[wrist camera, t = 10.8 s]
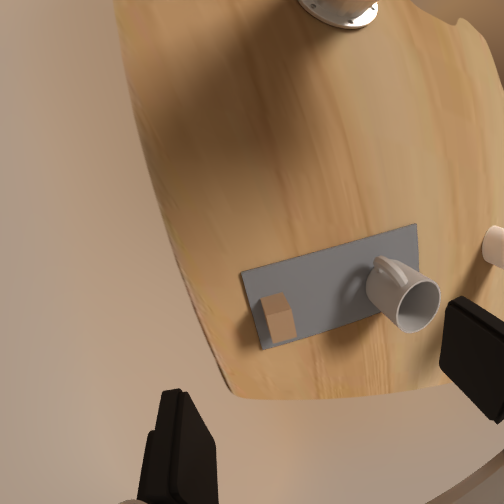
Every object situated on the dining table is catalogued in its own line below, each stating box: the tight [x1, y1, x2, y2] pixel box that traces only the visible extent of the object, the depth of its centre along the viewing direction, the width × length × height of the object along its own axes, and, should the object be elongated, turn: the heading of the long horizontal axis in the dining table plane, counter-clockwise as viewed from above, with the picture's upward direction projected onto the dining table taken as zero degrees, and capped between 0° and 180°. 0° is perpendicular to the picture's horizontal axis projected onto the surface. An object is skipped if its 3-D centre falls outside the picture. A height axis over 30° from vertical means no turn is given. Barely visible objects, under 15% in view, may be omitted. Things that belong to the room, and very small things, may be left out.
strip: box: [241, 224, 419, 350], centre depth 37 cm, size 12×26×5 cm, turn 104°
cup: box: [366, 256, 441, 333], centre depth 35 cm, size 7×10×9 cm
